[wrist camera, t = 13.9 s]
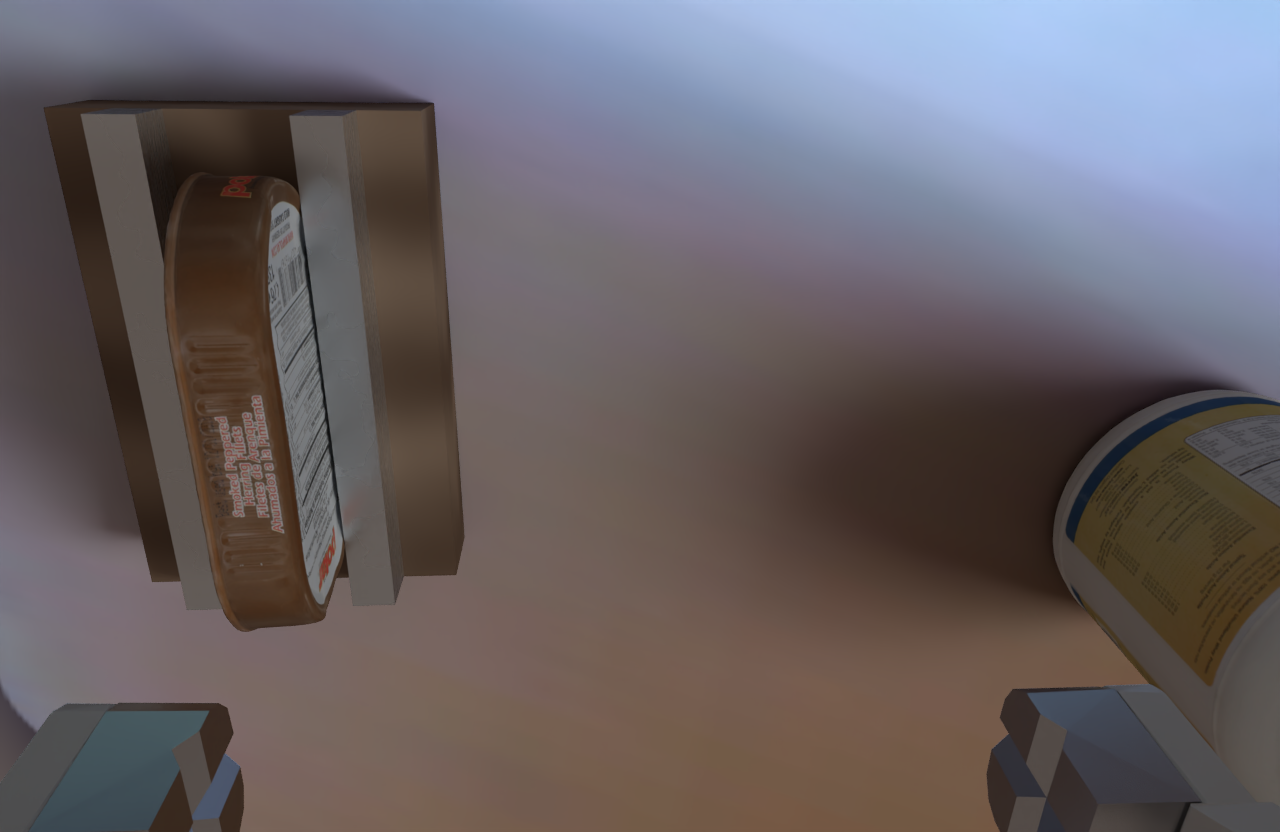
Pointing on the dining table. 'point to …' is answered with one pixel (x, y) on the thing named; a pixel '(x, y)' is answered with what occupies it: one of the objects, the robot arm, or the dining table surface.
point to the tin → (253, 397)
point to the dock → (397, 282)
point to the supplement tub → (1189, 564)
